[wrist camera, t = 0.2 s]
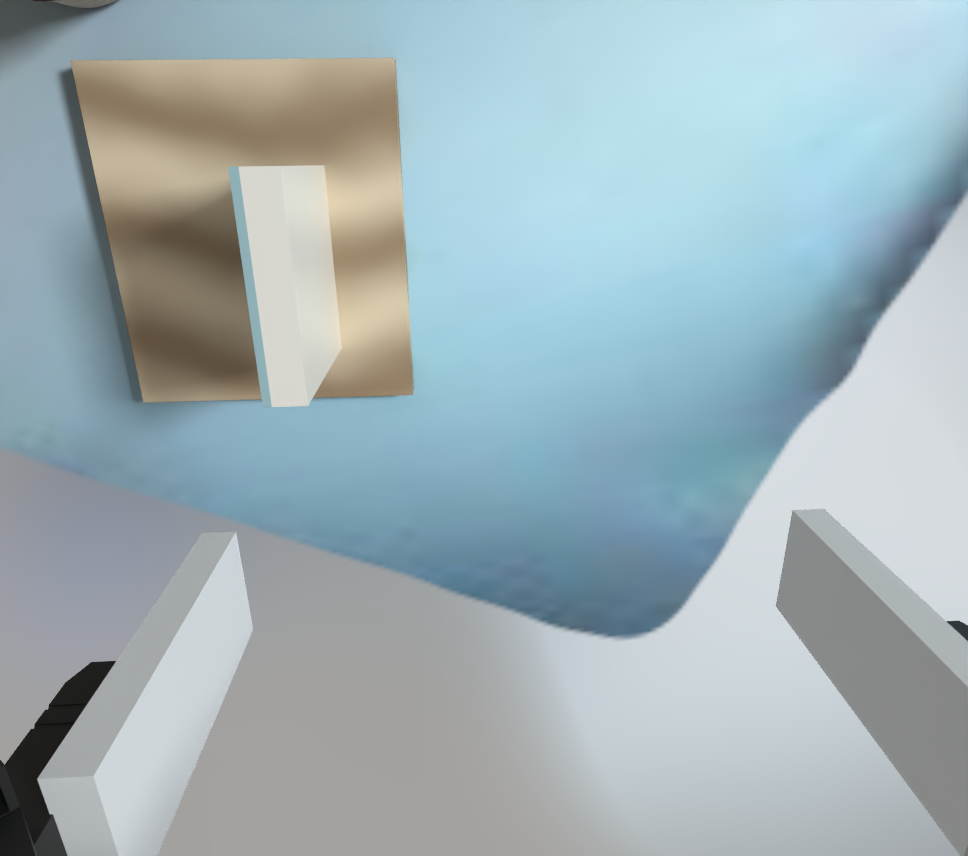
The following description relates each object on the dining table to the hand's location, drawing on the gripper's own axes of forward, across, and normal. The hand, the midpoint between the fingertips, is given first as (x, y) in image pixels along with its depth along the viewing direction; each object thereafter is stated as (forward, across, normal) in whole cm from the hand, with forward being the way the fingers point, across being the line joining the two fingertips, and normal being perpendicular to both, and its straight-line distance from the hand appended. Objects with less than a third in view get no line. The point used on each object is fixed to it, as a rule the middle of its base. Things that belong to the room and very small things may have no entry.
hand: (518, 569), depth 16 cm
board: (+26, -12, +5) cm, 29 cm away
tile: (+25, -9, +4) cm, 27 cm away
